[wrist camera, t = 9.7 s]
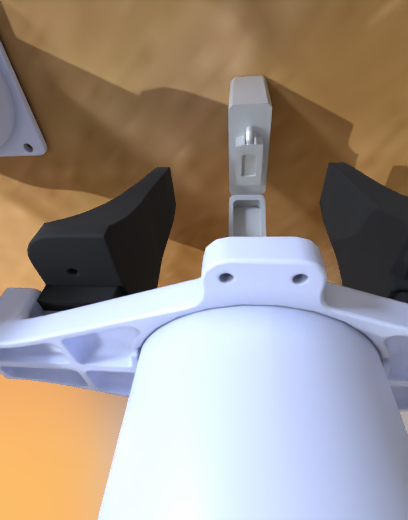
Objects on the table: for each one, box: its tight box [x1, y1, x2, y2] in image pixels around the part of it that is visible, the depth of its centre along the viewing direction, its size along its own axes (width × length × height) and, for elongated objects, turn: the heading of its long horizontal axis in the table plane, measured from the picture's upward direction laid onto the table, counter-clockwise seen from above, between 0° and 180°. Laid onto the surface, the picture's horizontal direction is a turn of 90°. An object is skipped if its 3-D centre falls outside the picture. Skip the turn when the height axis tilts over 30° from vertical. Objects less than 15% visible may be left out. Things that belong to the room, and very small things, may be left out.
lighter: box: [228, 75, 272, 237], centre depth 14 cm, size 7×2×8 cm, turn 4°
